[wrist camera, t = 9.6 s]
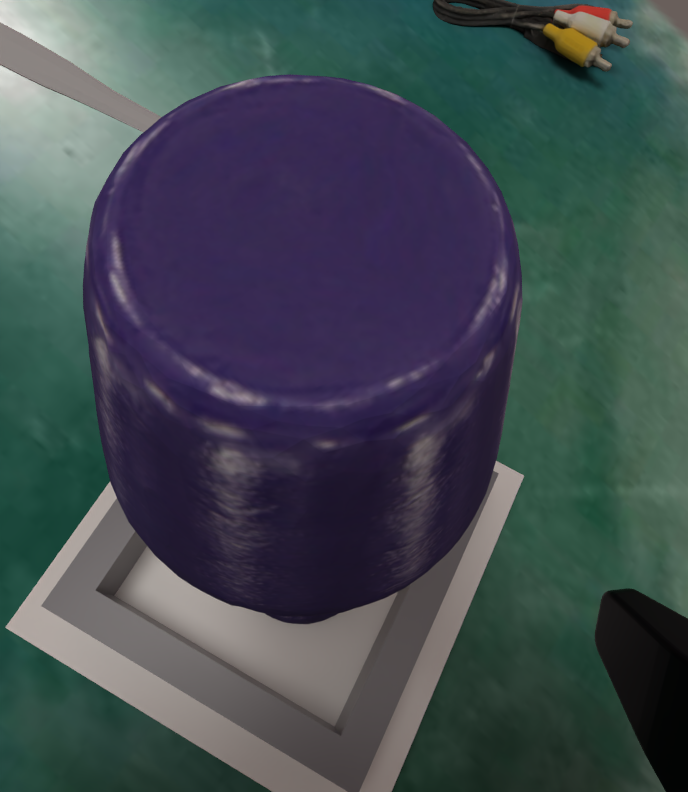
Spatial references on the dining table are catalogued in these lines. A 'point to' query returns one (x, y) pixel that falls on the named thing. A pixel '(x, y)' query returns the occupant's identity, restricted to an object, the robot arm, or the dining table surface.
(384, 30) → the dining table surface
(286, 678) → the socket plate
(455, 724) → the dining table surface
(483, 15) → the composite cable
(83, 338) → the dining table surface
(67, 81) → the butter knife
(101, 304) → the toy lamp
